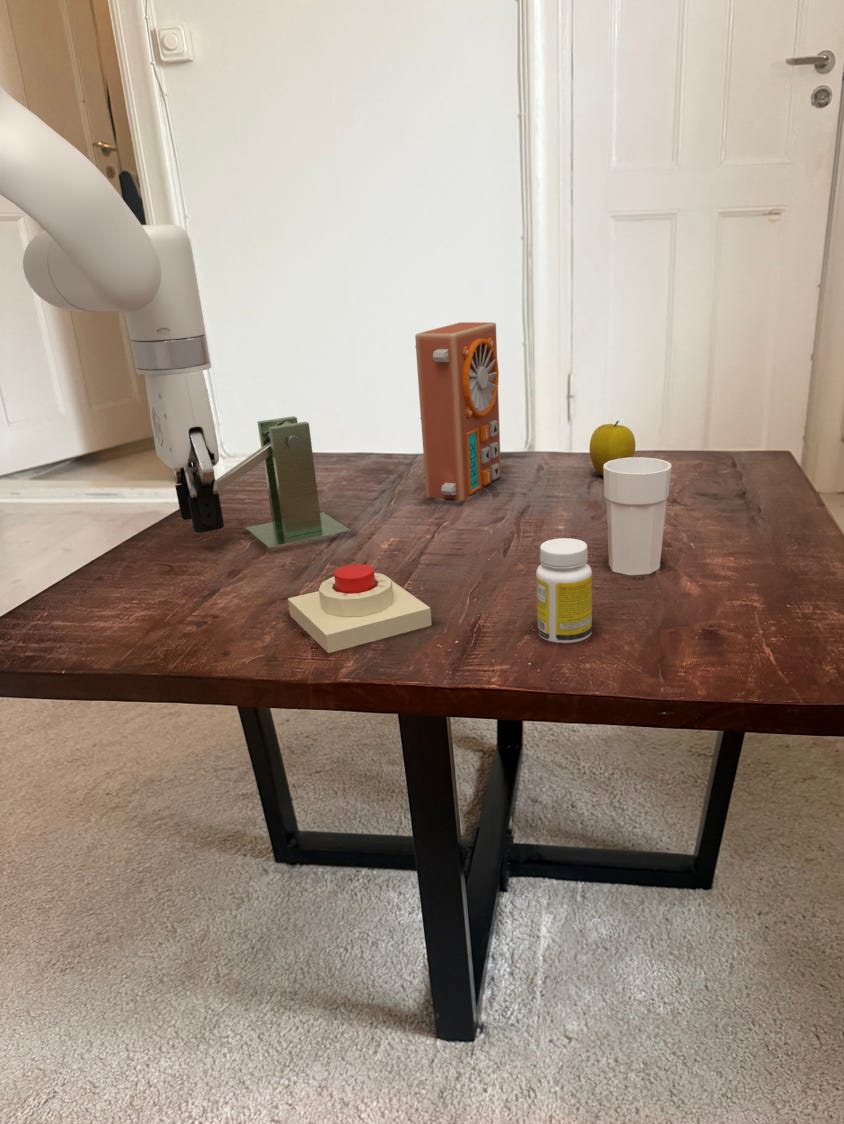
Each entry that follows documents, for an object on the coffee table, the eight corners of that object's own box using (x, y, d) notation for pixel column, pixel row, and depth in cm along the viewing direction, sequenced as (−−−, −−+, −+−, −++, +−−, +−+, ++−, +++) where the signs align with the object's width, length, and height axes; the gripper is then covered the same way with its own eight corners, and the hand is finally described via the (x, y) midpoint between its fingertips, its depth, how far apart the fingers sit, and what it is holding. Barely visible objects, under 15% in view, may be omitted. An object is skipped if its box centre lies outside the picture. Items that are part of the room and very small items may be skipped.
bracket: (270, 557, 101) (251, 435, 95) (246, 536, 108) (228, 422, 102) (352, 539, 105) (339, 422, 100) (324, 521, 113) (310, 410, 107)
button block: (329, 658, 77) (323, 615, 75) (290, 619, 85) (284, 580, 83) (432, 629, 81) (429, 589, 79) (386, 595, 89) (382, 558, 87)
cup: (589, 566, 94) (590, 463, 89) (641, 555, 96) (645, 454, 92) (625, 586, 88) (628, 477, 84) (679, 573, 91) (685, 467, 86)
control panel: (510, 481, 126) (463, 512, 113) (465, 478, 128) (415, 507, 116) (505, 321, 117) (454, 335, 104) (457, 321, 119) (402, 335, 107)
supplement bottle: (600, 631, 79) (602, 540, 76) (576, 651, 76) (576, 558, 72) (553, 621, 82) (552, 533, 78) (527, 640, 78) (525, 549, 75)
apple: (625, 483, 122) (627, 424, 119) (582, 479, 125) (582, 422, 122) (640, 471, 127) (642, 415, 124) (598, 468, 130) (598, 413, 127)
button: (345, 599, 79) (342, 581, 78) (330, 587, 82) (327, 569, 81) (382, 590, 81) (380, 572, 80) (366, 578, 84) (364, 561, 83)
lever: (205, 517, 98) (192, 499, 96) (194, 506, 102) (181, 489, 100) (308, 443, 101) (296, 425, 99) (293, 436, 105) (282, 418, 103)
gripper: (119, 351, 98) (152, 511, 106) (152, 368, 84) (187, 550, 92) (188, 344, 101) (215, 500, 109) (230, 359, 88) (258, 536, 95)
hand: (202, 521), depth 100 cm, fingers closed on lever, 5 cm apart
